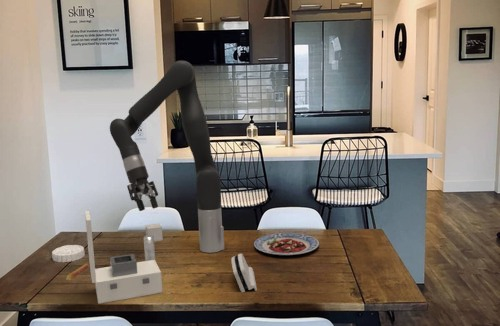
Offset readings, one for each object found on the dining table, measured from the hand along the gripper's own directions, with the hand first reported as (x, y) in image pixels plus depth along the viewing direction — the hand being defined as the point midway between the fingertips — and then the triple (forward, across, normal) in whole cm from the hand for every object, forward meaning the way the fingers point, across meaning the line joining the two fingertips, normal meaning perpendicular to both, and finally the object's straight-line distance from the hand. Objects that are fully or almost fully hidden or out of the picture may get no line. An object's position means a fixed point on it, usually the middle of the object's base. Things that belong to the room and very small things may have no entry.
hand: (149, 209), depth 189 cm
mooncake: (+6, -4, +40) cm, 41 cm away
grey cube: (+10, +24, +20) cm, 33 cm away
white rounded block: (+36, -4, -29) cm, 47 cm away
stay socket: (+18, -25, 0) cm, 31 cm away
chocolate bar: (+14, -17, +26) cm, 34 cm away
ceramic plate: (+32, +32, -34) cm, 57 cm away
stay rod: (+21, -4, +5) cm, 22 cm away
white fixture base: (+25, -23, +2) cm, 34 cm away
